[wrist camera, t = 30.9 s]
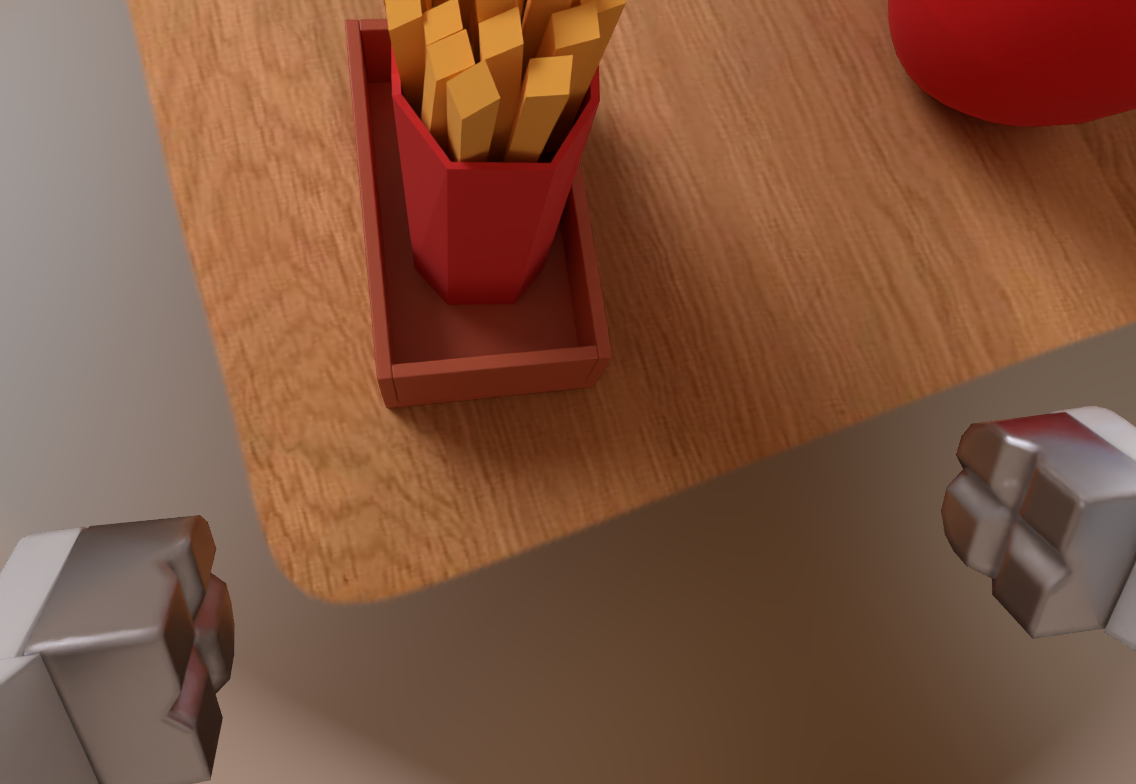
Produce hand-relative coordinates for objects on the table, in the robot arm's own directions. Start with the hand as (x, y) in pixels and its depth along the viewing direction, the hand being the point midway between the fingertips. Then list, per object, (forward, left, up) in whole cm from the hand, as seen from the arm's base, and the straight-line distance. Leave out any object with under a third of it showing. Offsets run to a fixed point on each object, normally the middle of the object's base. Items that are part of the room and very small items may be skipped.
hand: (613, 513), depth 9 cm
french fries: (0, -11, -15) cm, 19 cm away
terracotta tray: (0, -11, -15) cm, 19 cm away
